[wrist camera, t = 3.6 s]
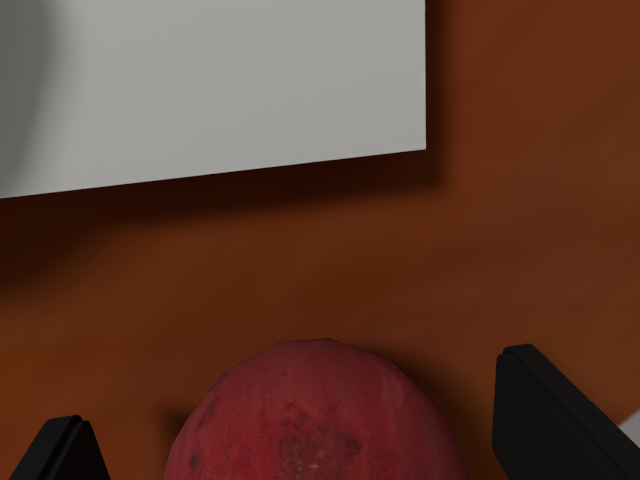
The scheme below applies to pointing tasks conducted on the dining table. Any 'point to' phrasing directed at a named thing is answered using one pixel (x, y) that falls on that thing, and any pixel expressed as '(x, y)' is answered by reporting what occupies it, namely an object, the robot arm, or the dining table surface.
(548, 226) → the dining table surface
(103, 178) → the carrier plate
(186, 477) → the pomegranate
